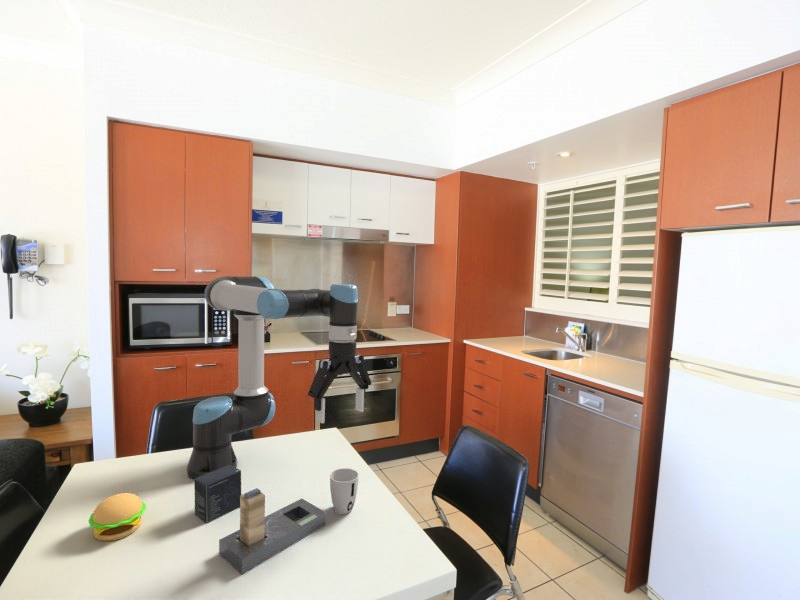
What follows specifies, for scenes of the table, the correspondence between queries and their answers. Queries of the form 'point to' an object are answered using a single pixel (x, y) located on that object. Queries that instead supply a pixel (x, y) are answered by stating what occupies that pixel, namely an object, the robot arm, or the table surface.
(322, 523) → the panel
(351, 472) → the cup
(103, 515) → the toy hamburger
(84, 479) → the table surface
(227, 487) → the box
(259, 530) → the plug
